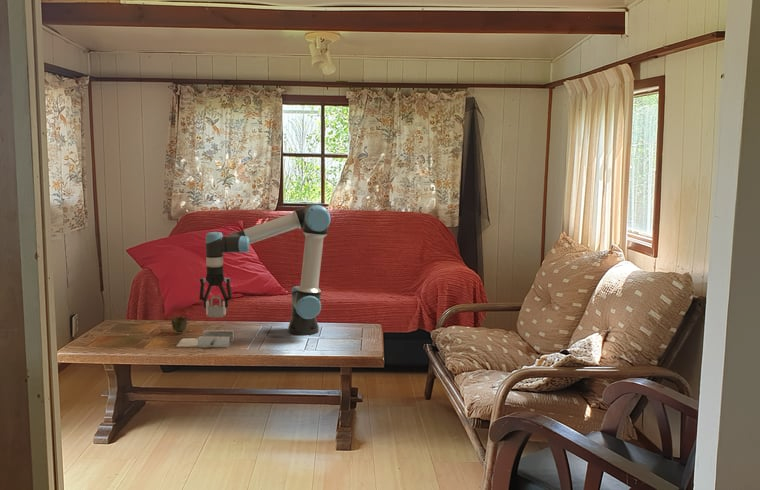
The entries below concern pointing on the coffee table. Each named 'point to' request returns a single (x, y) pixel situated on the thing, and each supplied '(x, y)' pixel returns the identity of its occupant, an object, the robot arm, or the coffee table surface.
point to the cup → (179, 324)
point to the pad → (188, 342)
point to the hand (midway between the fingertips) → (216, 314)
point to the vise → (216, 338)
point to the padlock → (215, 308)
